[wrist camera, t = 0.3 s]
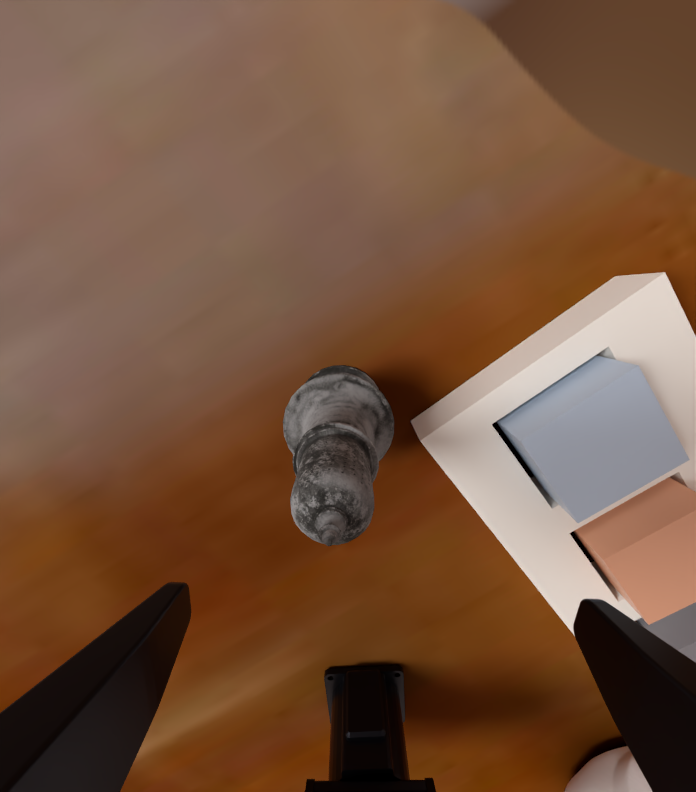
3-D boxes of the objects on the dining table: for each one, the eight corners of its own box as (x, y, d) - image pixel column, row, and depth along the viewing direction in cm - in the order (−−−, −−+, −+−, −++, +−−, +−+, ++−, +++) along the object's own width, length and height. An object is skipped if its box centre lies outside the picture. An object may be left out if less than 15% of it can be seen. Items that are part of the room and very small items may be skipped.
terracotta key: (696, 536, 21) (752, 574, 18) (609, 582, 22) (648, 625, 19) (658, 471, 20) (712, 501, 17) (567, 523, 21) (603, 559, 18)
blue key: (637, 435, 19) (689, 459, 16) (545, 490, 20) (578, 523, 17) (590, 354, 17) (638, 365, 15) (494, 418, 19) (520, 441, 16)
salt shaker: (364, 344, 19) (387, 413, 8) (400, 428, 21) (463, 586, 9) (277, 383, 20) (181, 498, 9) (318, 461, 22) (283, 646, 10)
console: (776, 585, 25) (846, 633, 21) (604, 667, 27) (641, 721, 24) (615, 276, 18) (677, 271, 15) (410, 421, 21) (422, 445, 17)
